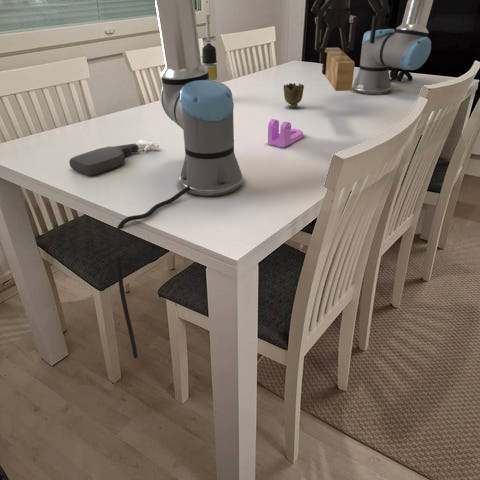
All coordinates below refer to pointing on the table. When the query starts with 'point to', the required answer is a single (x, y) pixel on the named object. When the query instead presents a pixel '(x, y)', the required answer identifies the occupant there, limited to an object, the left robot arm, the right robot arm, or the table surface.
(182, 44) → the left robot arm
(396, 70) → the squiggle
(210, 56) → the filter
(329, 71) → the bar
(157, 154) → the table surface
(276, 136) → the bracket
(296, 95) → the cup
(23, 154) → the table surface
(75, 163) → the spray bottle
